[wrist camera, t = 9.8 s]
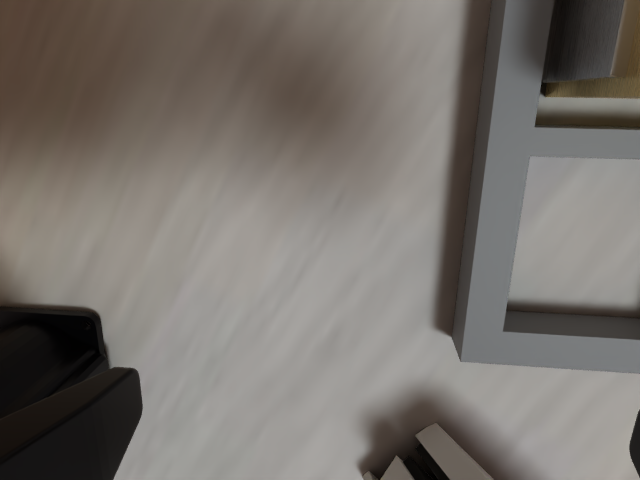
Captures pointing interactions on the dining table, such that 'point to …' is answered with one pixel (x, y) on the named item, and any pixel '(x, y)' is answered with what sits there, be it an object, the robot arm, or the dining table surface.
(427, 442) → the grey arched block
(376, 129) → the dining table surface
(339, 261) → the dining table surface
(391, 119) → the dining table surface
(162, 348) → the dining table surface
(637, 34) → the metal-backed wooden cube
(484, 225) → the gray rectangular tray
